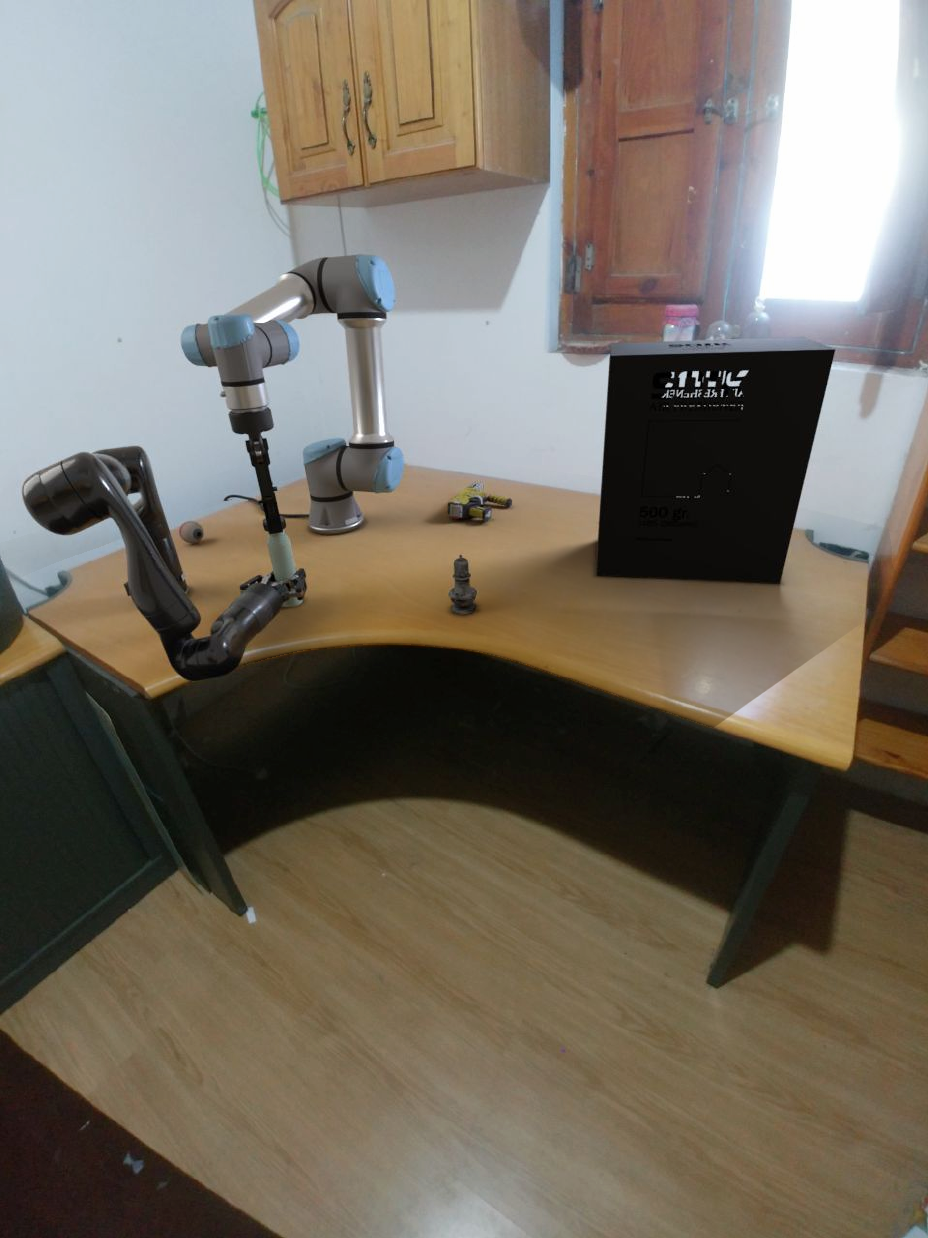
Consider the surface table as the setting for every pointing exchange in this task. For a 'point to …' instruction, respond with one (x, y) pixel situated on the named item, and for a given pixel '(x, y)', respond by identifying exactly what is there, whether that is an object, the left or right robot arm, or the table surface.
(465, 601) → the salt shaker
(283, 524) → the cap
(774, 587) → the table surface
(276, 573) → the bottle
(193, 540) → the eyeball
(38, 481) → the left robot arm
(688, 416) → the cardboard box
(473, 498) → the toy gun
